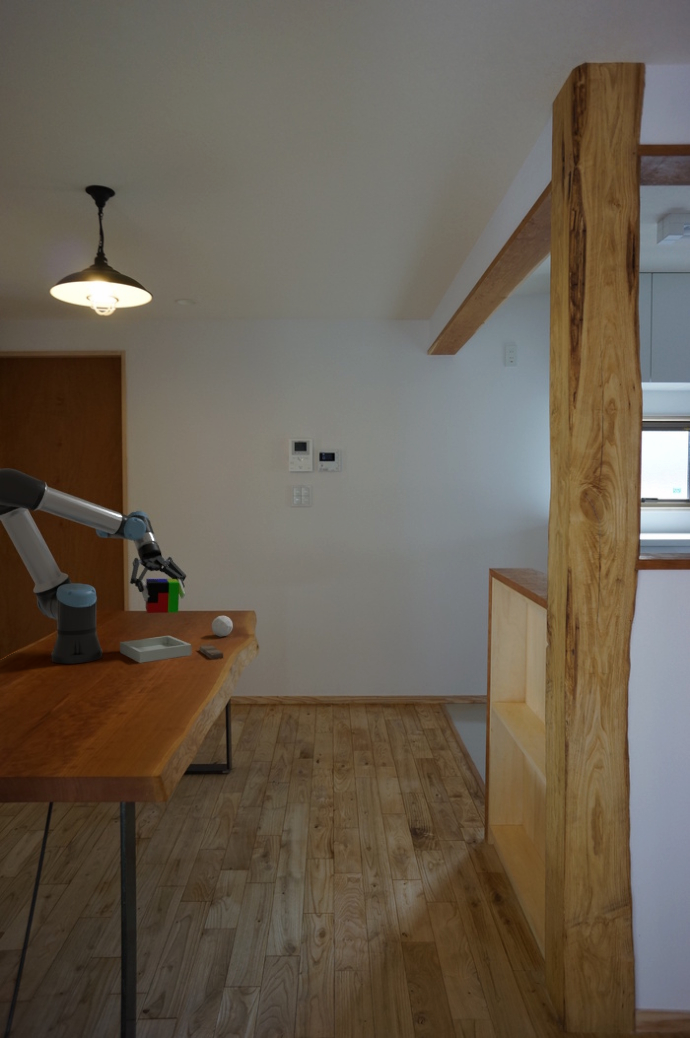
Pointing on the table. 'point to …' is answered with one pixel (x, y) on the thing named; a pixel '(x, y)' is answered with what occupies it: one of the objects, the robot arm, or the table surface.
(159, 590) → the puzzle toy
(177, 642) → the white square tray
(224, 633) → the geometric ball
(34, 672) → the table surface
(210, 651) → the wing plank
